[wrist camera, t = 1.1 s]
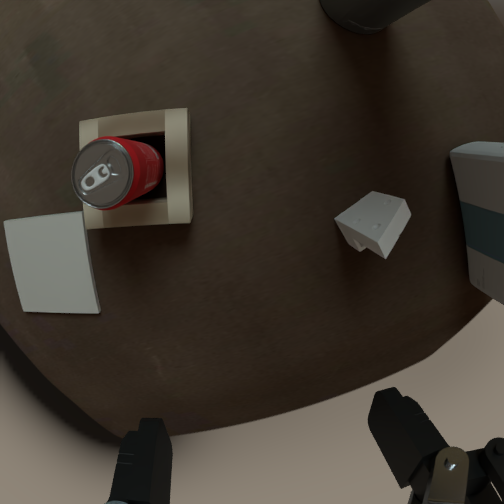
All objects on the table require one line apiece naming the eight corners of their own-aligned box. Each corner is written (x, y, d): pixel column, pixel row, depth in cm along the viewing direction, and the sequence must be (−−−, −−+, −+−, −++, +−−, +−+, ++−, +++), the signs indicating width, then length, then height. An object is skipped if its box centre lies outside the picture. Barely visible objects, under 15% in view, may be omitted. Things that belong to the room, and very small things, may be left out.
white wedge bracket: (308, 247, 31) (377, 242, 24) (353, 194, 36) (414, 182, 28) (325, 273, 33) (393, 274, 25) (366, 219, 37) (426, 211, 29)
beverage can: (174, 176, 30) (150, 186, 19) (132, 201, 30) (89, 226, 19) (151, 134, 28) (115, 120, 17) (110, 160, 29) (56, 163, 17)
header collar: (94, 125, 27) (79, 121, 23) (190, 114, 28) (187, 107, 25) (99, 221, 30) (85, 229, 26) (193, 215, 31) (190, 222, 28)
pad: (7, 220, 28) (3, 221, 28) (84, 211, 30) (81, 212, 29) (26, 308, 32) (23, 311, 31) (100, 310, 33) (98, 313, 32)
